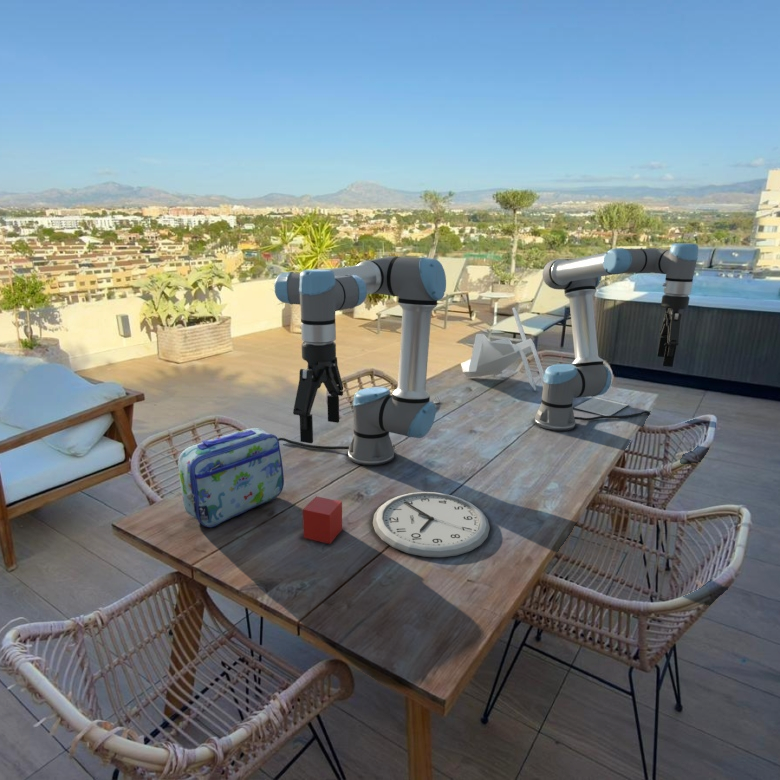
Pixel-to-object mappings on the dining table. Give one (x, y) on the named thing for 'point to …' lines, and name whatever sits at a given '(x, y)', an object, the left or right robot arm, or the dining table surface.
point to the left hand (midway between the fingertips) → (320, 431)
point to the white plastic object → (500, 355)
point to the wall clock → (431, 524)
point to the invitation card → (601, 406)
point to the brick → (322, 519)
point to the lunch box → (230, 475)
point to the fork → (437, 400)
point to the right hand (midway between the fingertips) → (664, 361)
